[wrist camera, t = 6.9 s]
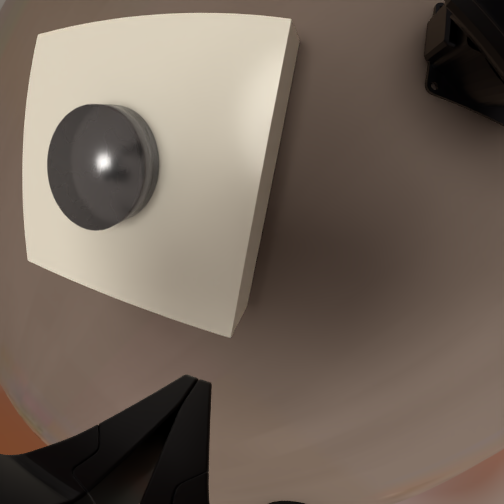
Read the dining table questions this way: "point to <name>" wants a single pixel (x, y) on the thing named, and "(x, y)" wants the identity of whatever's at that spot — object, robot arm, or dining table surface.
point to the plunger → (102, 165)
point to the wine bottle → (285, 502)
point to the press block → (167, 155)
